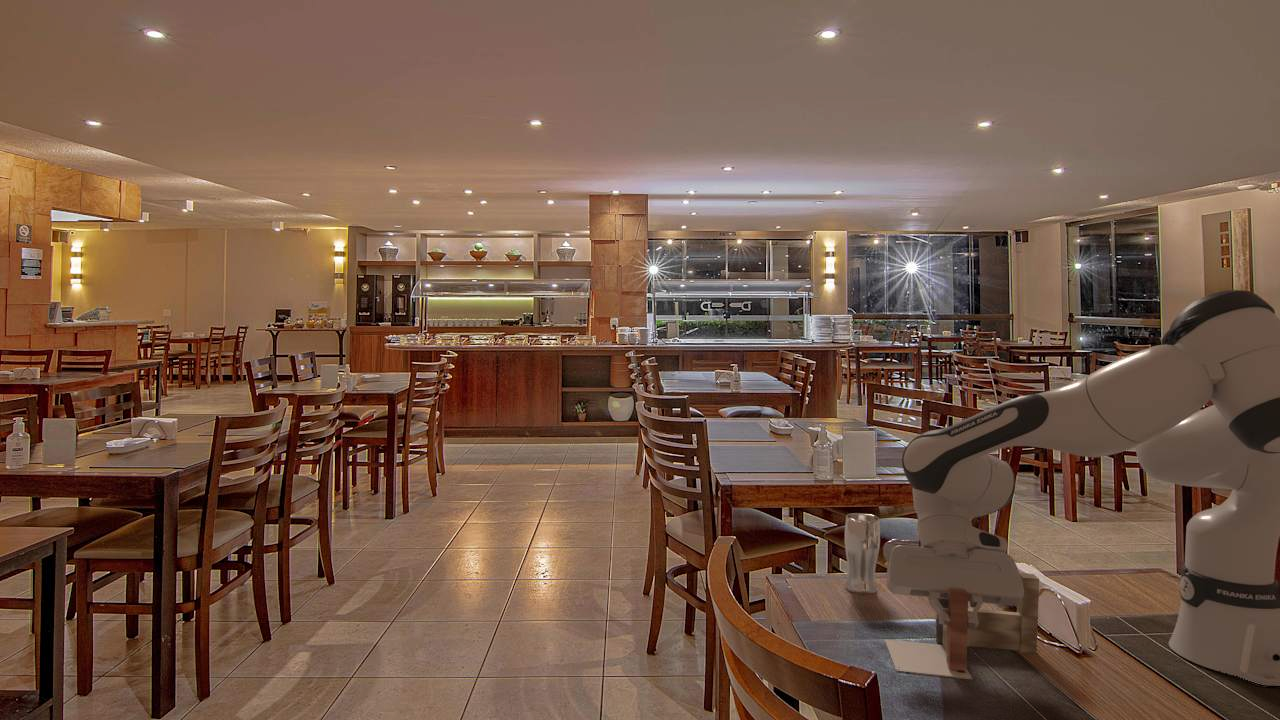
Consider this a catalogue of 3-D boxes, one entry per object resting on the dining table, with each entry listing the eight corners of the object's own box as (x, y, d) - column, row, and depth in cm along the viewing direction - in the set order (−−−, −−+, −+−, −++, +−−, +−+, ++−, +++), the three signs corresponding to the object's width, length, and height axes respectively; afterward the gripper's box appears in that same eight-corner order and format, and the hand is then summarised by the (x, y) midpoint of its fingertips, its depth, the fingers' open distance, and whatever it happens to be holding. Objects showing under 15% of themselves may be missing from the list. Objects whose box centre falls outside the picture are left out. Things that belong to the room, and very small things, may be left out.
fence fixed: (1030, 646, 113) (1033, 573, 113) (1036, 654, 111) (1039, 579, 110) (934, 638, 116) (936, 566, 116) (938, 644, 114) (940, 571, 113)
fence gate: (938, 641, 113) (940, 572, 113) (954, 643, 113) (956, 573, 112) (949, 668, 104) (951, 593, 104) (966, 670, 104) (968, 594, 103)
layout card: (953, 647, 113) (953, 645, 113) (971, 679, 102) (971, 677, 102) (884, 640, 115) (884, 639, 115) (896, 671, 104) (896, 670, 104)
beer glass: (881, 596, 134) (883, 523, 134) (845, 593, 136) (846, 520, 135) (876, 584, 141) (877, 513, 141) (841, 581, 143) (843, 511, 142)
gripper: (884, 529, 113) (891, 609, 104) (1016, 539, 109) (1036, 624, 100) (879, 546, 118) (886, 625, 109) (1006, 557, 114) (1023, 640, 105)
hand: (959, 624), depth 104 cm, fingers open, 2 cm apart
